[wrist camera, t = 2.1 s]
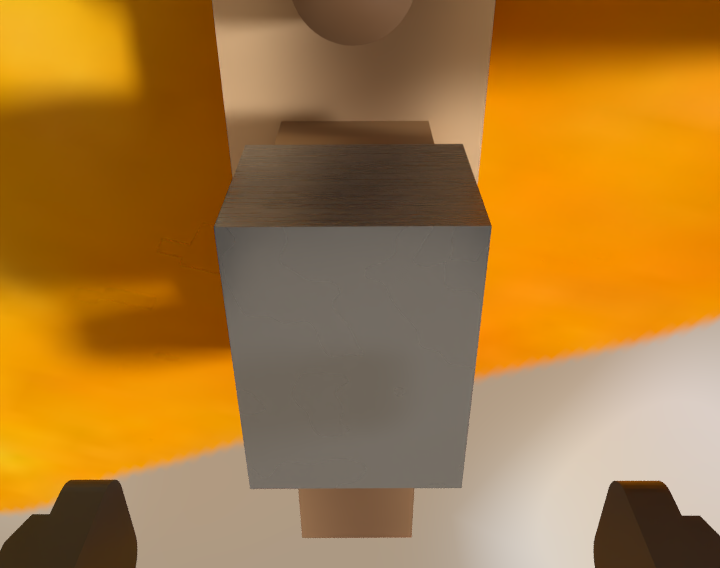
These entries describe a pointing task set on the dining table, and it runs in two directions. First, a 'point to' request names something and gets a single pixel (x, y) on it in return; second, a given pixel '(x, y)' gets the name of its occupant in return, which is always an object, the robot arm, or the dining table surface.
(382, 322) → the lever cap
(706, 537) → the robot arm
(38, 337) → the dining table surface
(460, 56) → the body
